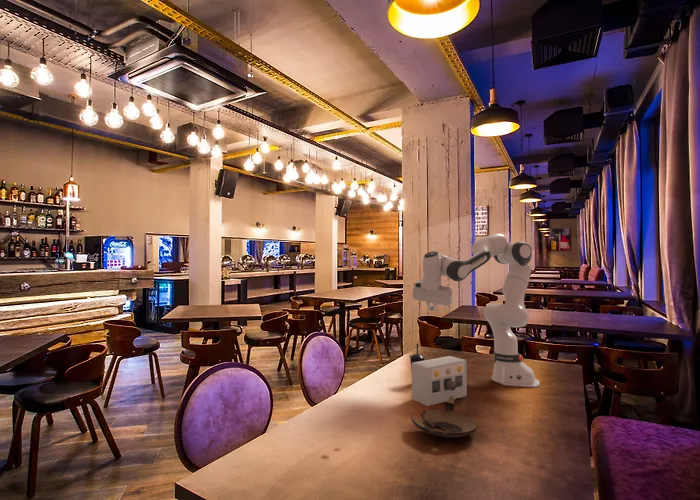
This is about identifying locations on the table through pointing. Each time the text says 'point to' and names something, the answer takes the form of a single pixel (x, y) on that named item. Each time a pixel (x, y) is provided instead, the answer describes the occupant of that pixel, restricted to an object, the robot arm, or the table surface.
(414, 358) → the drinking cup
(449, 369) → the console
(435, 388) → the button
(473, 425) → the oil lamp
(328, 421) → the table surface
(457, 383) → the button
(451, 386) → the button
